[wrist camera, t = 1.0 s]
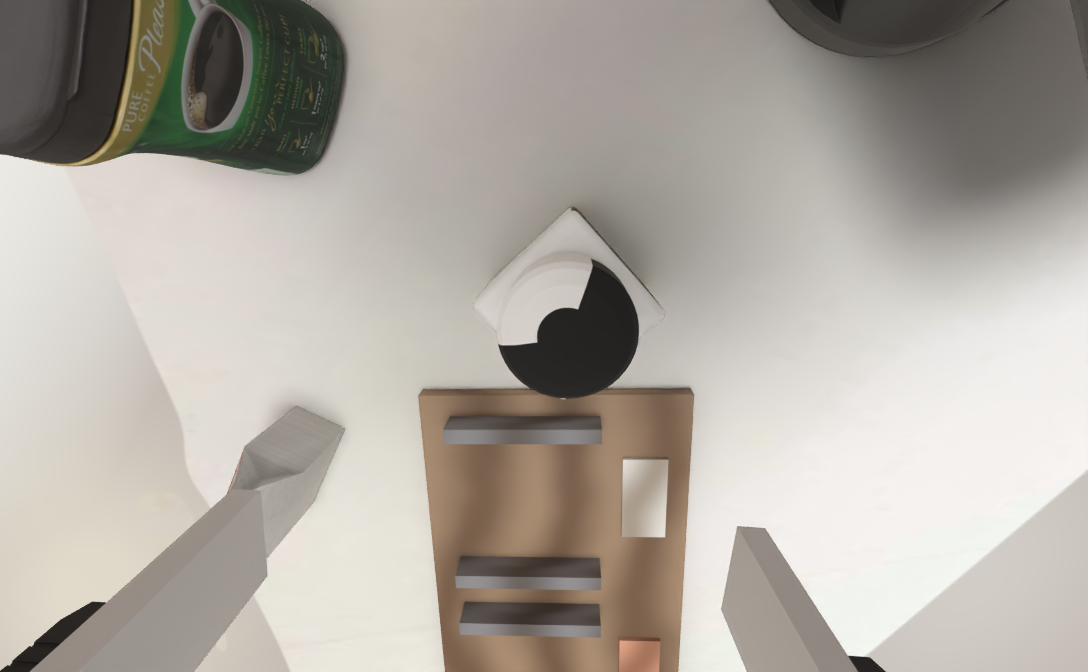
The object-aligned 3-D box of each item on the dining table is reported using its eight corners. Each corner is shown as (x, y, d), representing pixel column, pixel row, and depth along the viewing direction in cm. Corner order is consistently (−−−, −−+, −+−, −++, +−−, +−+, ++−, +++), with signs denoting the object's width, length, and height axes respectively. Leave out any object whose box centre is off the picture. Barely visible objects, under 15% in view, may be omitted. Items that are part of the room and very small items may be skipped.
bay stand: (690, 388, 34) (701, 406, 31) (671, 731, 42) (679, 771, 39) (422, 390, 35) (409, 407, 32) (454, 724, 43) (445, 763, 40)
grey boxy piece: (345, 428, 36) (263, 514, 26) (313, 502, 38) (225, 607, 28) (296, 405, 36) (195, 484, 26) (267, 481, 38) (162, 580, 28)
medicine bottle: (648, 289, 32) (691, 343, 21) (564, 361, 34) (561, 448, 22) (572, 203, 31) (574, 210, 20) (489, 282, 33) (445, 330, 21)
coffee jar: (227, -27, 29) (-334, -384, 11) (362, 28, 29) (33, -232, 11) (198, 146, 31) (-295, 84, 14) (322, 193, 32) (2, 195, 14)
